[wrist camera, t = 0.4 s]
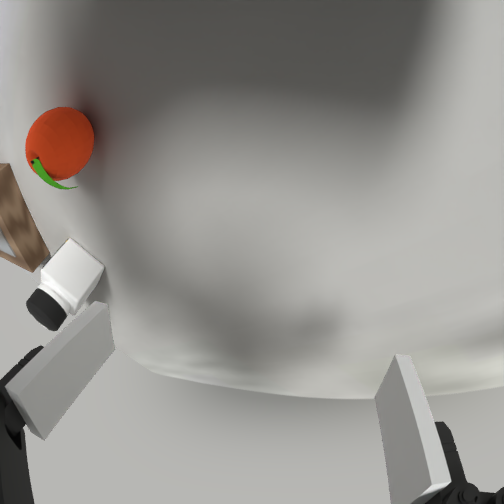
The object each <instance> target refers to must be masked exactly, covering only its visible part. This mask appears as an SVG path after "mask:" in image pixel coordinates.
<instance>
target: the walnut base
mask: <svg viewBox="0 0 504 504" xmlns="http://www.w3.org/2000/svg"><path fill="white" fill-rule="evenodd" d="M48 254H49V251H48V249H47V247H46V245H45V243H44V241H43V239H42V237H41V235H40V233H39V231H38V229H37V227H36V225H35V223H34V221H33V219H32V217H31V215H30V212H29V210H28V208H27V206H26V203H25V201H24V199H23V197H22V194H21V192H20V189H19V187H18V185H17V182H16V180H15V177H14V174H13V172H12V169H11V167H10V164H0V257H2V258H5V259H6V260H8V261H10V262H12V263H14V264H16V265H18V266H20V267H22V268H24V269H26V270H28V271H30V272H32V273H33V272H34V271H35V269H36V268H37V267H38V266H39V265H40V264H41V262H42V261H43V260H44V259H45V258H46V257H47V256H48Z"/></svg>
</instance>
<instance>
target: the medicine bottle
mask: <svg viewBox="0 0 504 504" xmlns="http://www.w3.org/2000/svg"><path fill="white" fill-rule="evenodd" d="M104 268H105V267H104V265H103V264H101V263H100V262H99V261H98V260H97V259H95V258H94V257H93V256H92V255H91V254H89V253H88V252H87V251H86V250H85V249H83V248H82V247H81V246H80V245H79V244H78V243H76V242H75V241H74V240H73V239H72V238H69V239H68V240H67V241H66V242H65V243H64V244H63V245H62V246H61V247H60V248H59V249H58V251H57V252H56V253H55V254H54V255H53V256H52V257H51V258H50V260H49V261H48V262H47V263H46V264H45V265H44V267H43V268H42V269H41V284H40V285H39V286H38V287H37V289H36V290H35V292H34V293H33V294H32V295H31V297H30V298H29V299H28V300H27V302H26V306H27V308H28V311H29V312H30V314H31V315H32V316H33V317H34V318H35V320H36V321H38V322H39V323H40V324H41V325H42V326H44V327H45V328H47V329H48V330H52V331H57V330H58V329H59V327H60V326H61V324H62V323H63V322H64V320H65V319H66V317H67V316H68V314H69V313H70V314H72V315H76V313H77V312H78V310H79V309H80V308H81V306H82V305H83V303H84V302H85V301H86V299H87V298H88V296H89V295H90V294H91V292H92V291H93V290H94V288H95V287H96V286H97V284H98V282H99V279H100V277H101V275H102V273H103V270H104Z"/></svg>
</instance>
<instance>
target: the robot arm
mask: <svg viewBox="0 0 504 504" xmlns="http://www.w3.org/2000/svg"><path fill="white" fill-rule="evenodd" d="M114 350H115V346H114V340H113V335H112V329H111V322H110V316H109V309H108V304H105V303H101V302H98V301H94V302H93V303H92V304H91V305H90V306H89V307H87V308H86V309H85V310H84V311H83V312H82V313H81V314H80V315H79V316H77V317H76V318H75V319H74V320H73V321H72V322H71V323H70V324H69V325H68V326H67V327H65V328H64V329H63V330H62V331H61V332H60V333H59V334H58V335H57V336H56V337H55V338H54V339H52V340H51V341H50V342H49V343H48V344H47V345H46V346H45V347H43V346H39V347H37V348H35V349H33V350H31V351H30V352H29V353H28V354H27V355H26V356H25V357H24V359H21V360H20V361H19V362H18V364H16V365H15V366H14V367H13V368H12V369H11V370H10V371H9V372H8V373H7V374H6V375H5V376H4V377H3V378H2V379H1V380H0V504H34V499H33V494H32V488H31V483H30V477H29V469H28V462H27V455H26V443H25V433H24V429H23V427H24V426H25V424H26V425H27V426H28V428H29V429H30V431H31V432H32V433H33V434H35V435H36V436H38V437H40V438H41V439H43V440H45V439H46V438H47V436H48V435H49V433H50V432H51V431H52V429H53V428H54V427H55V426H56V424H57V423H58V422H59V420H60V419H61V418H62V416H63V415H64V414H65V412H66V411H67V410H68V408H69V407H70V406H71V405H72V403H73V402H74V401H75V399H76V398H77V397H78V395H79V394H80V393H81V392H82V390H83V389H84V388H85V387H86V385H87V384H88V383H89V381H90V380H91V379H92V377H93V376H94V375H95V374H96V372H97V371H98V370H99V369H100V368H101V366H102V365H103V364H104V363H105V361H106V360H107V359H108V358H109V356H110V355H111V354H112V353H113V352H114ZM375 401H376V407H377V412H378V418H379V423H380V429H381V435H382V441H383V447H384V453H385V459H386V467H387V475H388V482H389V491H390V500H391V504H504V487H503V488H501V489H500V490H499V491H498V492H496V493H488V492H479V490H478V488H477V487H476V486H475V485H473V484H471V483H468V482H467V481H466V478H465V474H464V471H463V467H462V464H461V461H460V458H459V454H458V451H456V449H457V448H456V445H455V443H454V439H453V436H452V433H451V431H450V429H449V428H448V427H447V426H446V424H445V423H444V422H434V420H433V417H432V414H431V411H430V408H429V405H428V402H427V399H426V396H425V394H424V391H423V388H422V385H421V383H420V380H419V377H418V375H417V372H416V370H415V367H414V364H413V362H412V359H411V357H410V355H395V356H394V358H393V360H392V362H391V365H390V367H389V369H388V371H387V373H386V375H385V377H384V379H383V382H382V384H381V386H380V388H379V390H378V392H377V394H376V395H375Z"/></svg>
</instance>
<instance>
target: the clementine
mask: <svg viewBox="0 0 504 504" xmlns="http://www.w3.org/2000/svg"><path fill="white" fill-rule="evenodd" d="M93 146H94V132H93V128H92V126H91V124H90V122H89V120H88V119H87V117H86V116H85V115H84V114H83V113H81V112H80V111H78V110H75V109H73V108H70V107H58V108H55V109H52V110H49V111H47V112H45V113H44V114H42V115H41V116H40V117H39V118H38V119H37V120H36V121H35V122H34V124H33V125H32V126H31V128H30V130H29V133H28V136H27V139H26V158H27V161H28V164H29V165H30V167H31V169H32V170H33V171H34V172H35V173H36V174H38V175H39V177H41V178H42V179H43V180H44V181H45V182H46V183H48V184H49V185H52V186H54V187H56V188H59V189H72V188H76V187H72V188H68V187H64V186H61V185H60V184H58V183H56V182H55V181H59V180H64V179H68V178H70V177H71V176H73V175H75V174H77V173H78V172H79V171H80V170H81V169H82V168H83V167H84V166H85V165H86V163H87V162H88V160H89V158H90V156H91V154H92V151H93Z"/></svg>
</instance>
